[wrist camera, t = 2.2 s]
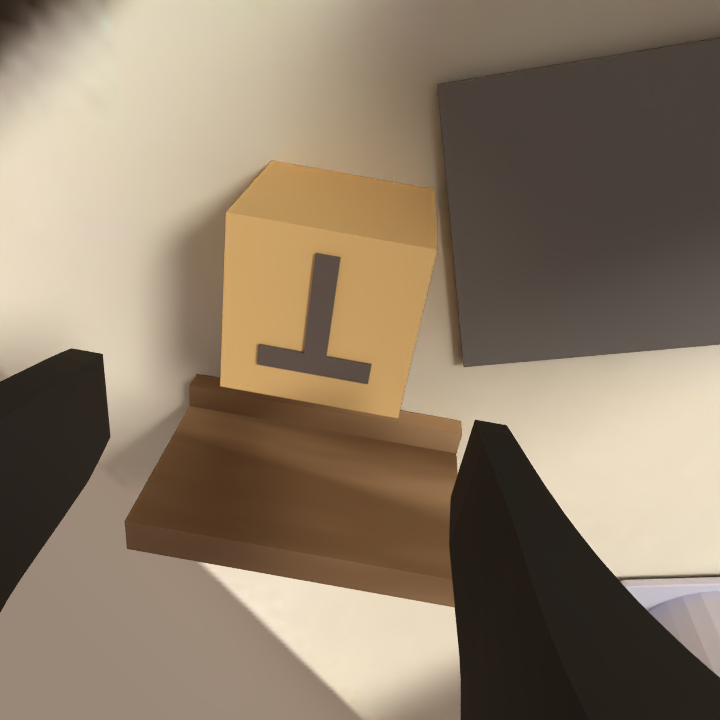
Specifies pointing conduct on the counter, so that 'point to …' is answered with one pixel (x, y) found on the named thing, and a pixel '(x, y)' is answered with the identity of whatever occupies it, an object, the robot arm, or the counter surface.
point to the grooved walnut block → (305, 493)
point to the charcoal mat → (586, 205)
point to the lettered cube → (326, 286)
